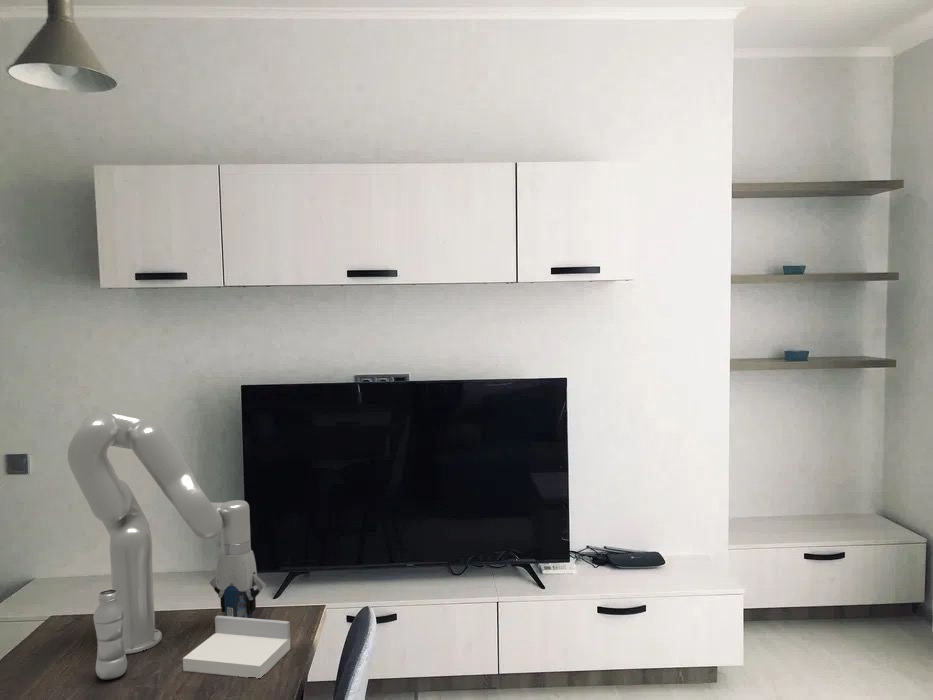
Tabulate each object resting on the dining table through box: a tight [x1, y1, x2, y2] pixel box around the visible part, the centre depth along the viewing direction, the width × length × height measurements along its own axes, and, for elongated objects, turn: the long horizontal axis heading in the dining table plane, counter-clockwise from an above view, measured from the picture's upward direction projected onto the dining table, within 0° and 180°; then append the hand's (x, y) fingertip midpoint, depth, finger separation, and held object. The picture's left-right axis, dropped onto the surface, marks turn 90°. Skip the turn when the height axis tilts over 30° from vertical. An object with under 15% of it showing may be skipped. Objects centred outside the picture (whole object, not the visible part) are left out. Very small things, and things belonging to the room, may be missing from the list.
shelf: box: [182, 615, 291, 679], centre depth 175 cm, size 20×15×7 cm
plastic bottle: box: [92, 588, 128, 680], centre depth 167 cm, size 6×7×20 cm
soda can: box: [224, 584, 253, 618], centre depth 195 cm, size 7×7×12 cm
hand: (238, 611), depth 196 cm, fingers closed on soda can, 7 cm apart
